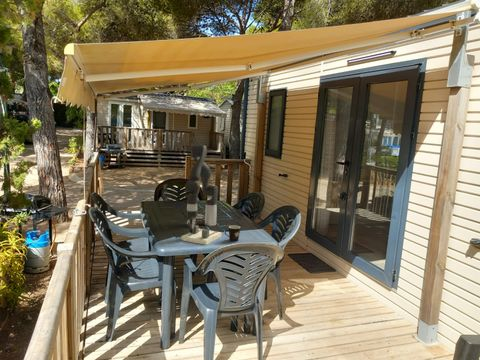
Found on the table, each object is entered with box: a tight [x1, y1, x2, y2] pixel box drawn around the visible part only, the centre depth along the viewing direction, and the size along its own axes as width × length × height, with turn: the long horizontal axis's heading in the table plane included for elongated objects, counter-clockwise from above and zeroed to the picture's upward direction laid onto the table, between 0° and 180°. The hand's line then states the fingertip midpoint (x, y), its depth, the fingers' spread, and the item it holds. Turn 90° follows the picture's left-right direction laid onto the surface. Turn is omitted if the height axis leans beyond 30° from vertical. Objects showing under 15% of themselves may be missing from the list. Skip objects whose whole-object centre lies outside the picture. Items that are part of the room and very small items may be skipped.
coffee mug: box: [224, 225, 241, 243], centre depth 276 cm, size 12×9×10 cm
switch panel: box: [181, 228, 222, 245], centre depth 278 cm, size 24×20×3 cm
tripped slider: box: [193, 224, 200, 233], centre depth 280 cm, size 4×4×5 cm
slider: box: [202, 228, 210, 238], centre depth 270 cm, size 4×4×5 cm
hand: (191, 232), depth 276 cm, fingers closed
